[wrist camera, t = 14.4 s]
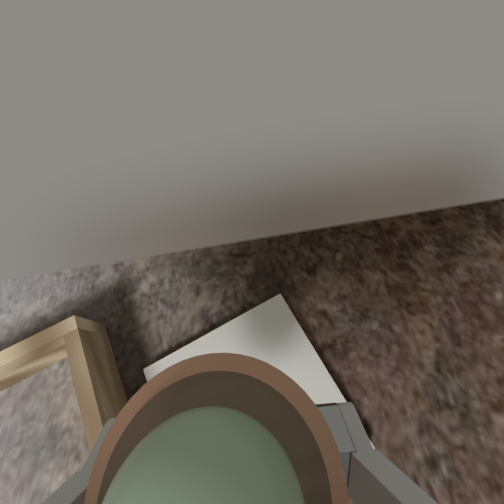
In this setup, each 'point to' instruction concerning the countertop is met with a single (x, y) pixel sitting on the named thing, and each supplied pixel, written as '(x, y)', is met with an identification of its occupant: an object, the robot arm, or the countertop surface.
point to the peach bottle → (219, 440)
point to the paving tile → (265, 348)
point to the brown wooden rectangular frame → (72, 368)
